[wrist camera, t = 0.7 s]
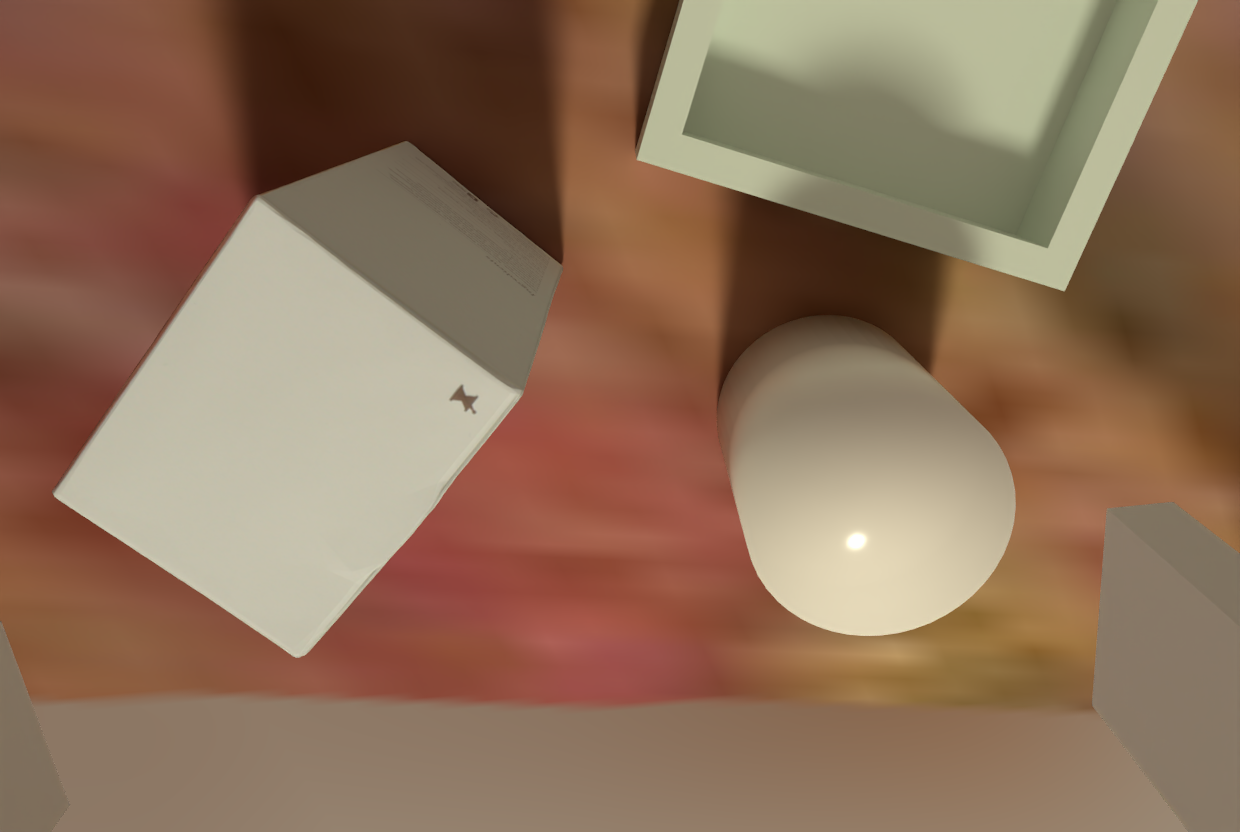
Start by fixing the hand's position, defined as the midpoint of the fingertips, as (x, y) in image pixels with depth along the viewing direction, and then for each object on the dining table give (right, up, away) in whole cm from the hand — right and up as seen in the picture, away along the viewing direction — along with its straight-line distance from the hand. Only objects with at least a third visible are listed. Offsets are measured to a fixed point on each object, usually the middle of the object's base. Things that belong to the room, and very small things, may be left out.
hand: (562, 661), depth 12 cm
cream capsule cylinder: (+7, +3, +21) cm, 23 cm away
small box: (-6, +7, +20) cm, 22 cm away
